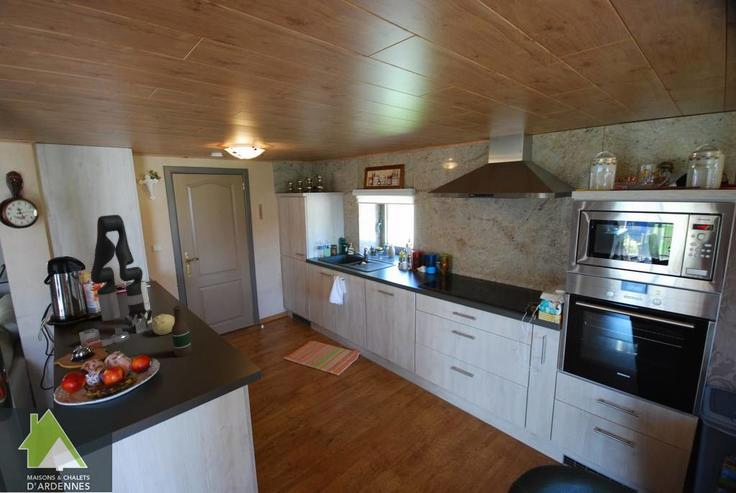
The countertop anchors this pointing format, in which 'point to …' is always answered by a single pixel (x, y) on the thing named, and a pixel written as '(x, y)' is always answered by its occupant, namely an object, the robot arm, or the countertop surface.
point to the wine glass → (109, 339)
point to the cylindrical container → (145, 299)
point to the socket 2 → (140, 325)
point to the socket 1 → (89, 336)
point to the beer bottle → (180, 334)
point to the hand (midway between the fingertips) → (140, 329)
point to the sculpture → (163, 324)
